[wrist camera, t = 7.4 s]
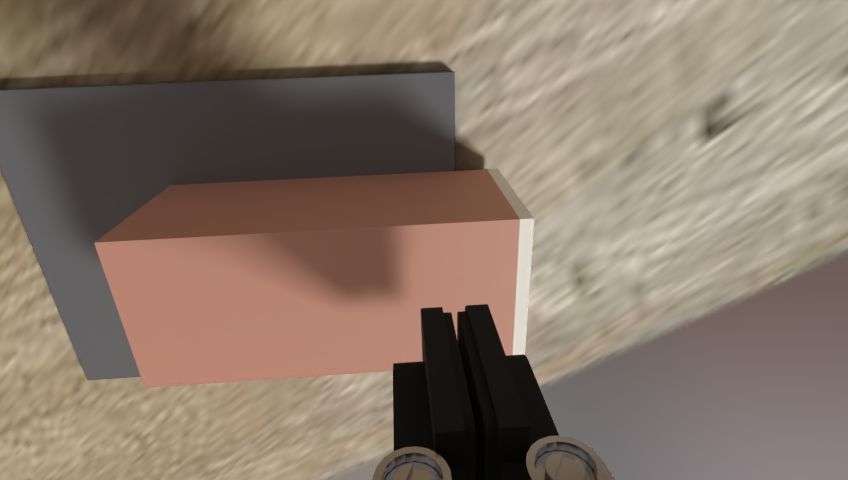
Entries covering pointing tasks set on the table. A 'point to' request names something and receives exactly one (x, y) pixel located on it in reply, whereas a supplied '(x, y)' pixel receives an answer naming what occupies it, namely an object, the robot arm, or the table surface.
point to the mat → (193, 162)
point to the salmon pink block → (314, 272)
